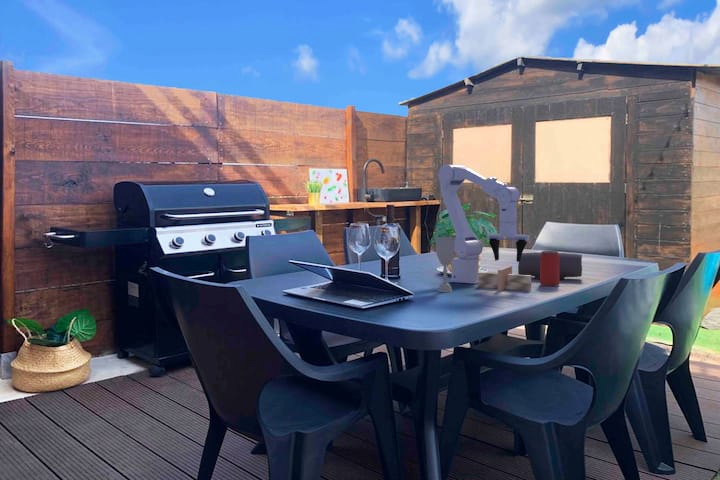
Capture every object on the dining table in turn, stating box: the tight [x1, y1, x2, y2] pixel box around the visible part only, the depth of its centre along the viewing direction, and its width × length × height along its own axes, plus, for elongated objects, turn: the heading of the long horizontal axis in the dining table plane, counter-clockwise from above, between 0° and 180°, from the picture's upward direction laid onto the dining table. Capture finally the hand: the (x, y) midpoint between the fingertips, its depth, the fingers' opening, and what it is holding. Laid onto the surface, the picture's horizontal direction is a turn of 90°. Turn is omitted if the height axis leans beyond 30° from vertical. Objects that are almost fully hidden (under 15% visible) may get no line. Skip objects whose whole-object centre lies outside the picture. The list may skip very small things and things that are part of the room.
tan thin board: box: [497, 265, 513, 292], centre depth 211 cm, size 1×12×7 cm, turn 149°
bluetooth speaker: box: [517, 251, 583, 280], centre depth 232 cm, size 23×9×10 cm, turn 73°
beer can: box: [539, 250, 560, 287], centre depth 216 cm, size 7×7×12 cm
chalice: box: [434, 236, 456, 293], centre depth 206 cm, size 7×7×18 cm
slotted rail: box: [477, 271, 532, 292], centre depth 211 cm, size 18×2×5 cm, turn 59°
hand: (507, 260), depth 213 cm, fingers open, 7 cm apart
